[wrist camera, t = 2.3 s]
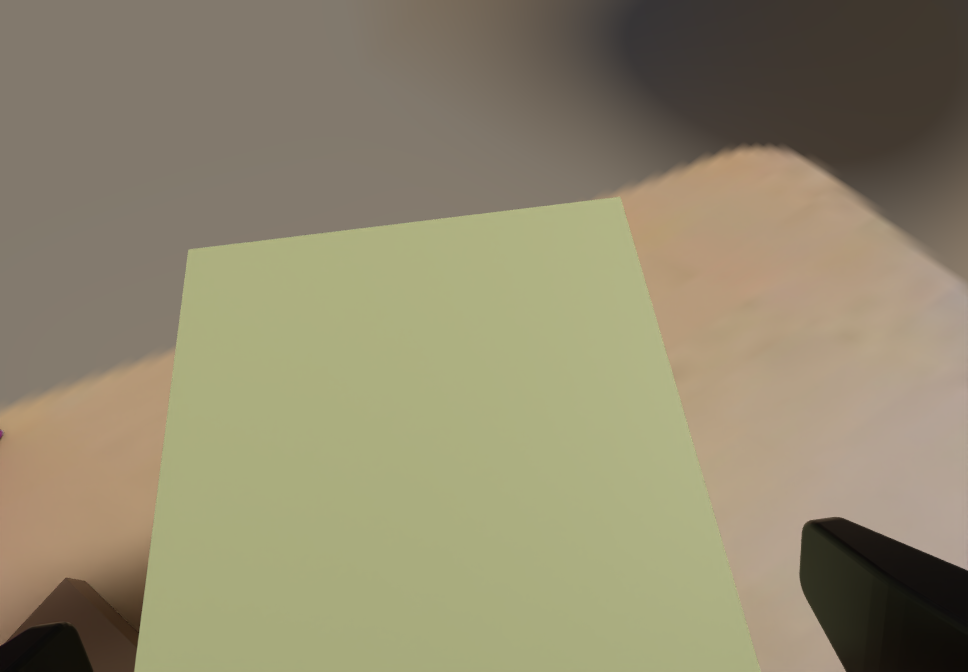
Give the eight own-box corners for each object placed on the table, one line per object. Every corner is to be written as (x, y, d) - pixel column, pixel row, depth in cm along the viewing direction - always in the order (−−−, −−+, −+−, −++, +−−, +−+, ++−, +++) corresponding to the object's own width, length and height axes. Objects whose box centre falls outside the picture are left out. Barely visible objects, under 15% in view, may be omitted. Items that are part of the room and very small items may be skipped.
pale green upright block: (605, 666, 15) (767, 692, 6) (365, 700, 15) (119, 785, 5) (561, 436, 18) (620, 196, 8) (359, 462, 18) (188, 249, 8)
